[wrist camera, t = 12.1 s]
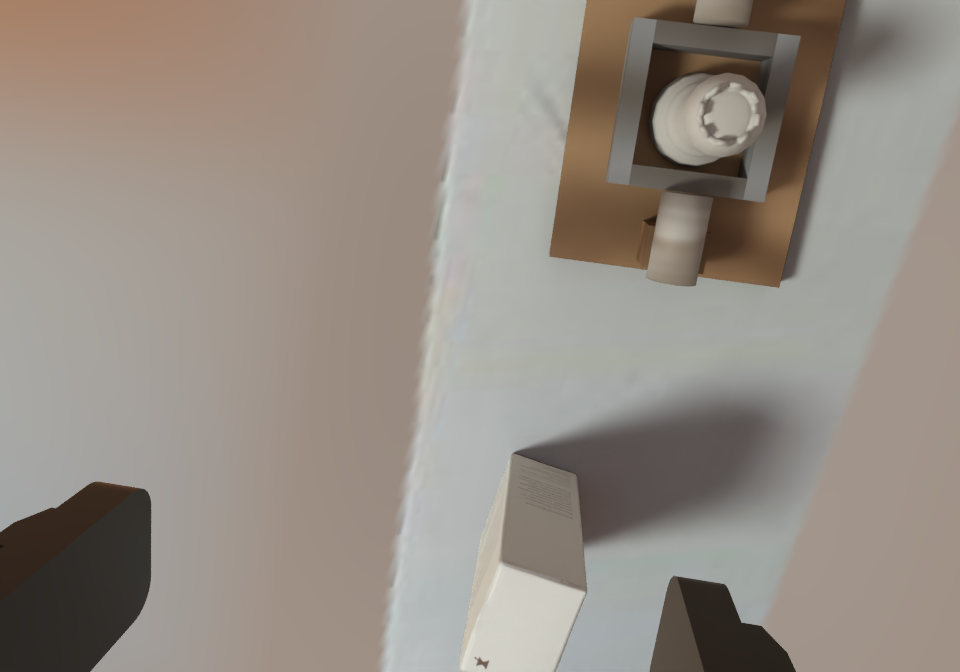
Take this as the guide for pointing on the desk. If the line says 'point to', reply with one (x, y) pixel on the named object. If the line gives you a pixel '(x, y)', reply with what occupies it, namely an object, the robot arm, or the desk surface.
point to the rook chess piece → (706, 118)
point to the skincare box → (526, 573)
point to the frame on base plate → (679, 189)
